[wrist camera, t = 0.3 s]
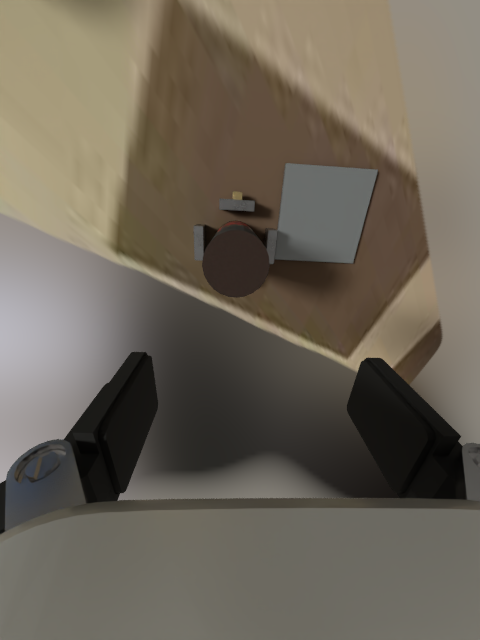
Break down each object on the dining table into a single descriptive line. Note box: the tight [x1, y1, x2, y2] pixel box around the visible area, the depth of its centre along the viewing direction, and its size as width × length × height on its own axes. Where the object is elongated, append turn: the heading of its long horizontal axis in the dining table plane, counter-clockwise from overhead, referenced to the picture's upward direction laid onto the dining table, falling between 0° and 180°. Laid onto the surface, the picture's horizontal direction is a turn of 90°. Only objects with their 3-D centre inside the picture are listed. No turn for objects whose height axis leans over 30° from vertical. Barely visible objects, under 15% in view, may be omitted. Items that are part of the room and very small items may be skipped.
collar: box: [194, 192, 278, 264], centre depth 32 cm, size 13×11×3 cm
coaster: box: [274, 163, 378, 263], centre depth 32 cm, size 12×12×1 cm
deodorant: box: [202, 221, 270, 297], centre depth 27 cm, size 6×6×15 cm
